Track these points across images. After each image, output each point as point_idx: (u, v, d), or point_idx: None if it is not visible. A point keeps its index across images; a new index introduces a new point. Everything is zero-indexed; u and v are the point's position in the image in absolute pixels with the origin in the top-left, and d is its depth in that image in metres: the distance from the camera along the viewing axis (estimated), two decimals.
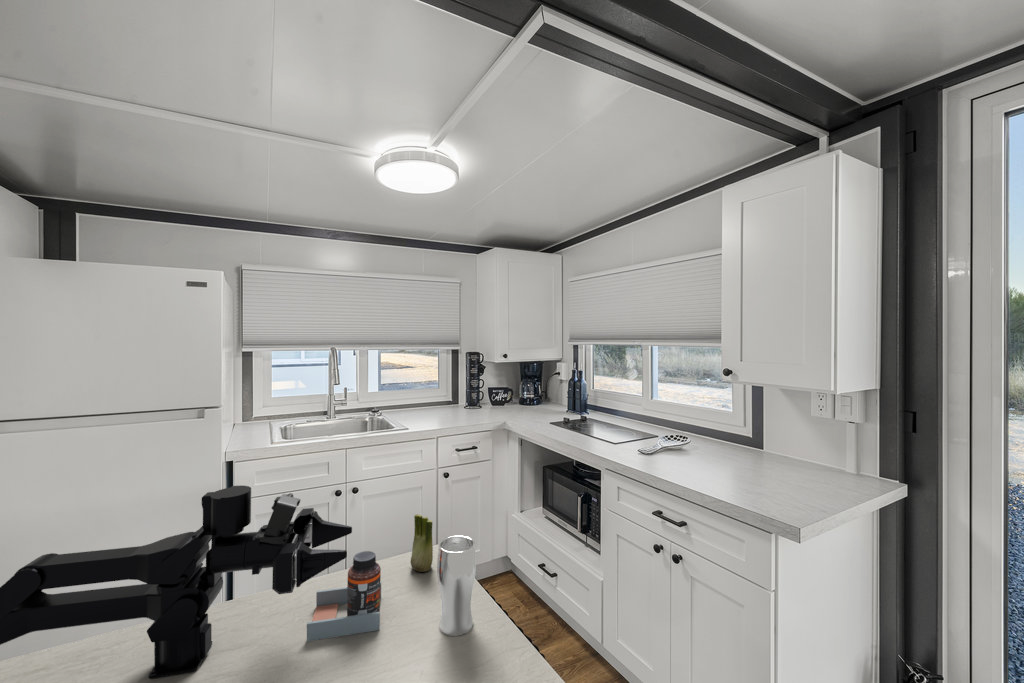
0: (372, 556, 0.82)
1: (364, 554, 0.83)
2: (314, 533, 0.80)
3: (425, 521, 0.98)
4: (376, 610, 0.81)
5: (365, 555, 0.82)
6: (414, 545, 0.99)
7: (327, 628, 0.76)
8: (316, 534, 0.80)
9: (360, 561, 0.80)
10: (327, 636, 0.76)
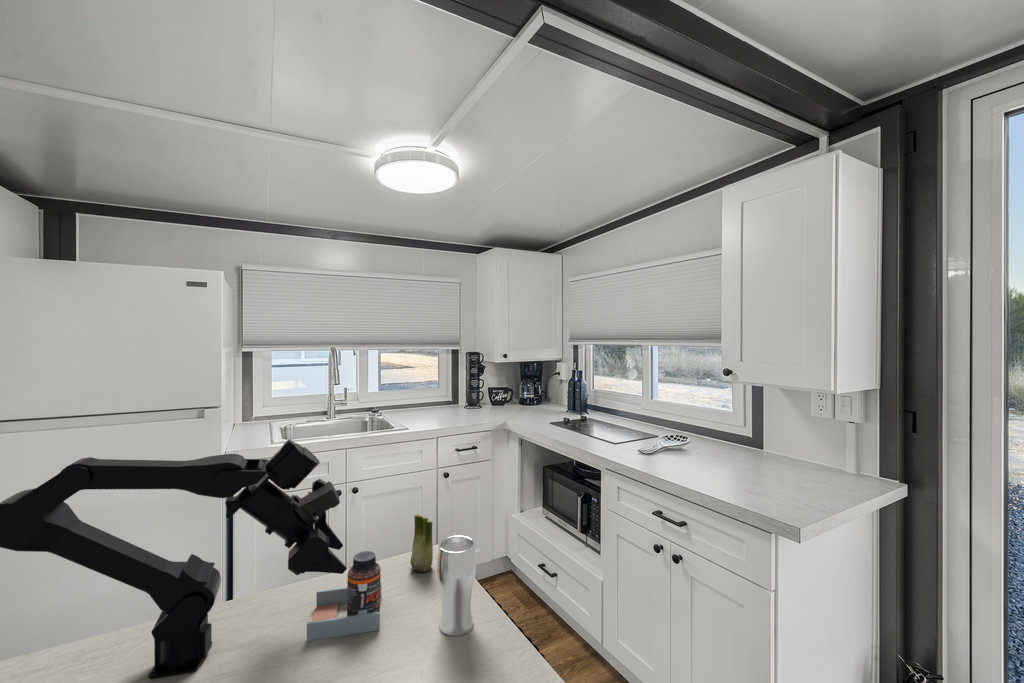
0: (372, 556, 0.82)
1: (364, 554, 0.83)
2: (314, 528, 0.83)
3: (425, 521, 0.98)
4: (376, 610, 0.81)
5: (365, 556, 0.82)
6: (414, 545, 0.99)
7: (327, 628, 0.76)
8: None
9: (360, 561, 0.80)
10: (327, 636, 0.76)
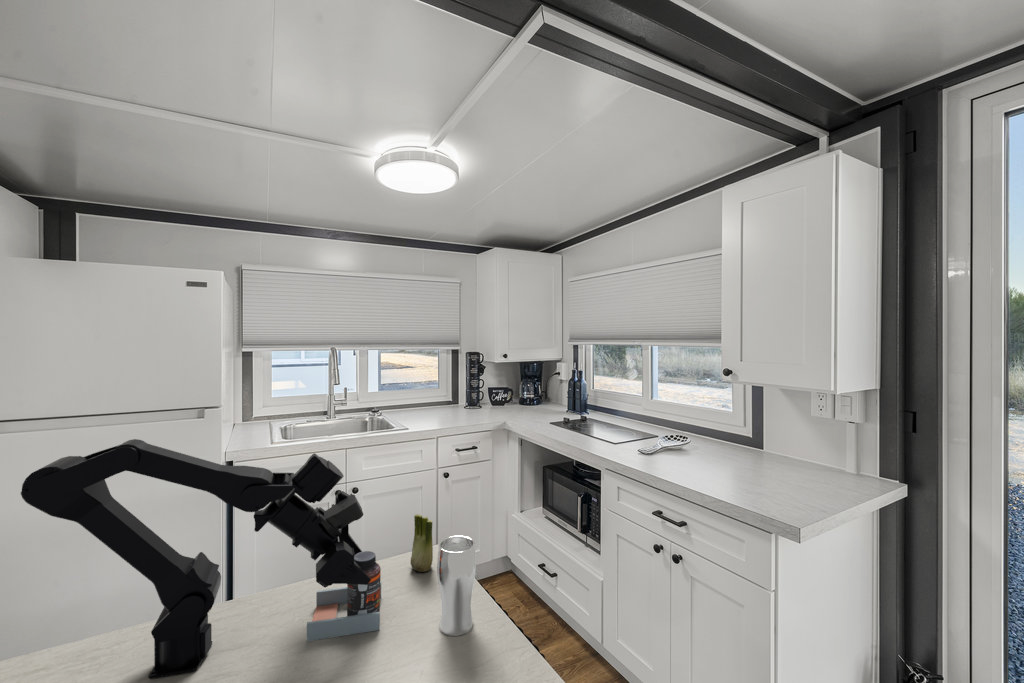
0: (372, 556, 0.82)
1: (364, 554, 0.83)
2: None
3: (425, 521, 0.98)
4: (376, 610, 0.81)
5: (365, 556, 0.82)
6: (414, 545, 0.99)
7: (327, 628, 0.76)
8: None
9: (360, 561, 0.80)
10: (327, 636, 0.76)
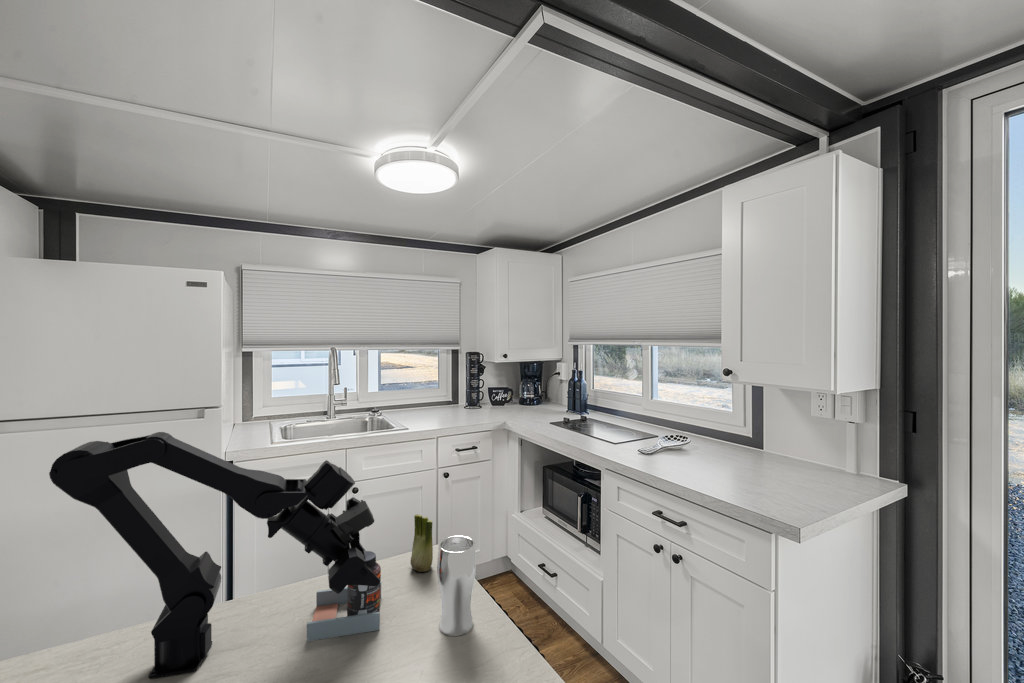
0: (372, 556, 0.82)
1: None
2: None
3: (425, 521, 0.98)
4: (376, 610, 0.81)
5: (365, 555, 0.82)
6: (414, 545, 0.99)
7: (327, 628, 0.76)
8: None
9: None
10: (327, 636, 0.76)
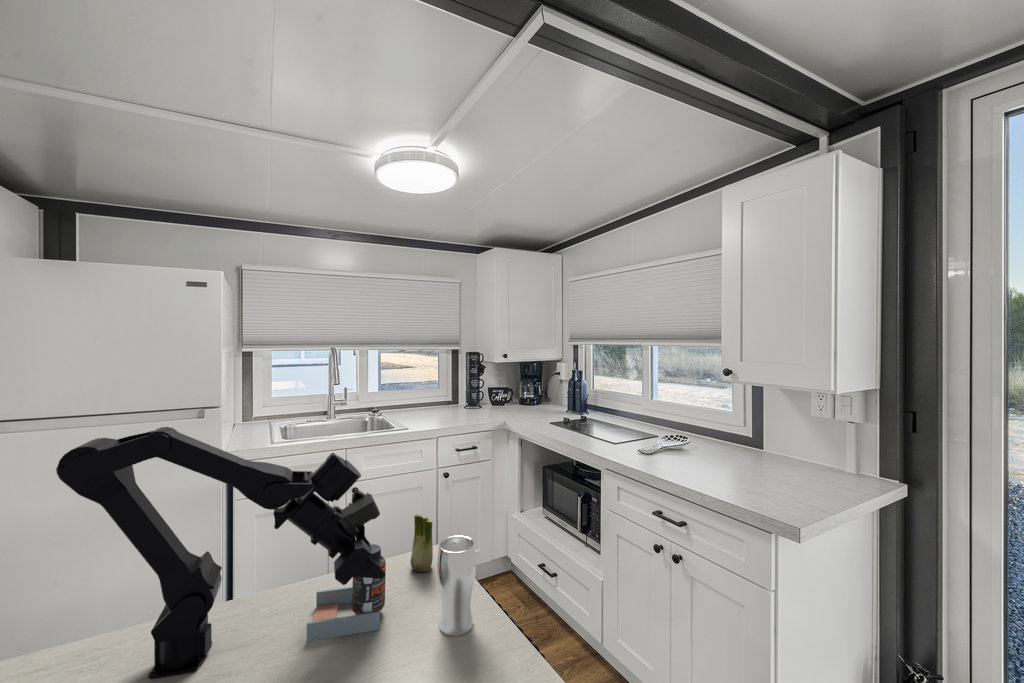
0: (378, 549, 0.82)
1: None
2: None
3: (425, 521, 0.98)
4: (381, 603, 0.81)
5: None
6: (414, 545, 0.99)
7: (327, 628, 0.76)
8: None
9: None
10: (327, 636, 0.76)
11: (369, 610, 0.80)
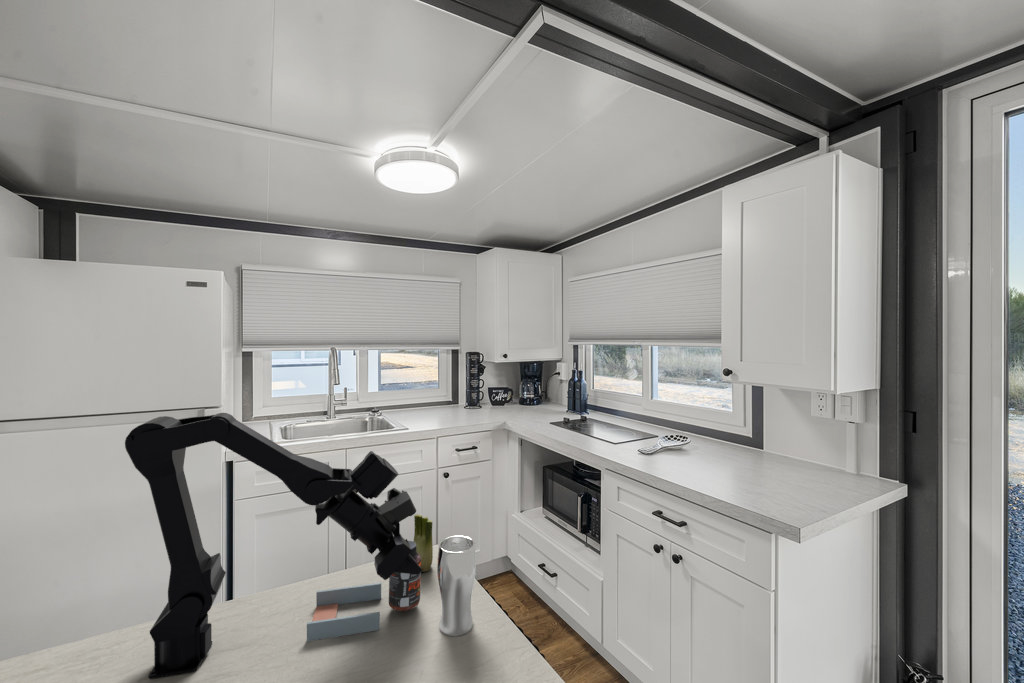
0: (413, 545, 0.84)
1: None
2: None
3: (425, 521, 0.98)
4: (417, 598, 0.83)
5: None
6: None
7: (327, 628, 0.76)
8: None
9: None
10: (327, 636, 0.76)
11: (406, 605, 0.81)
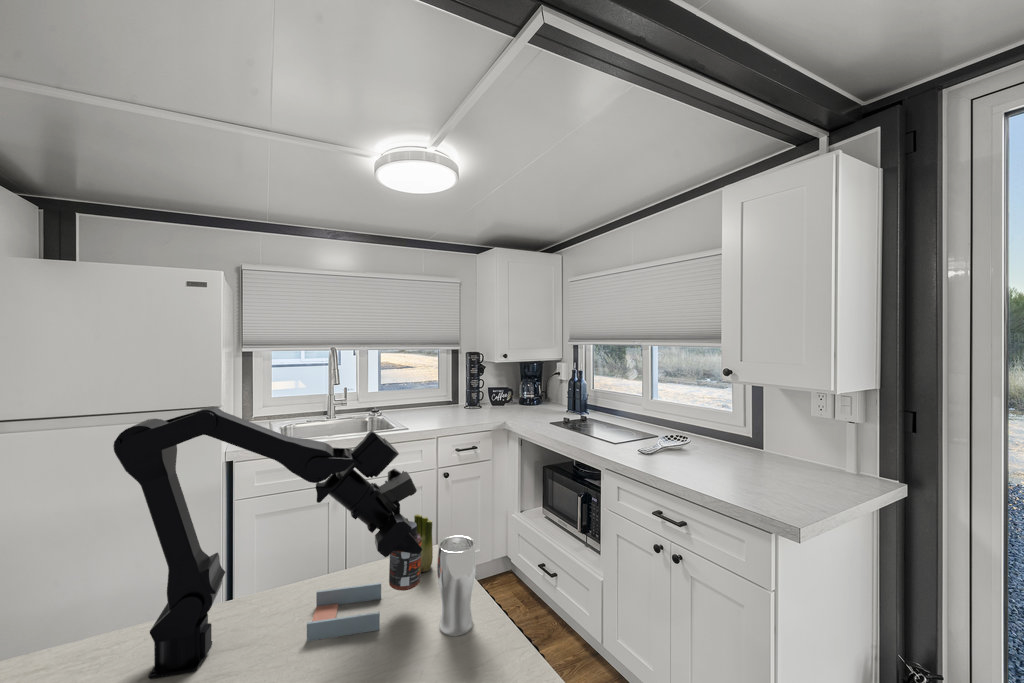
0: (414, 525, 0.84)
1: None
2: None
3: (425, 521, 0.98)
4: (417, 578, 0.83)
5: None
6: None
7: (327, 628, 0.76)
8: None
9: None
10: (327, 636, 0.76)
11: (406, 584, 0.81)
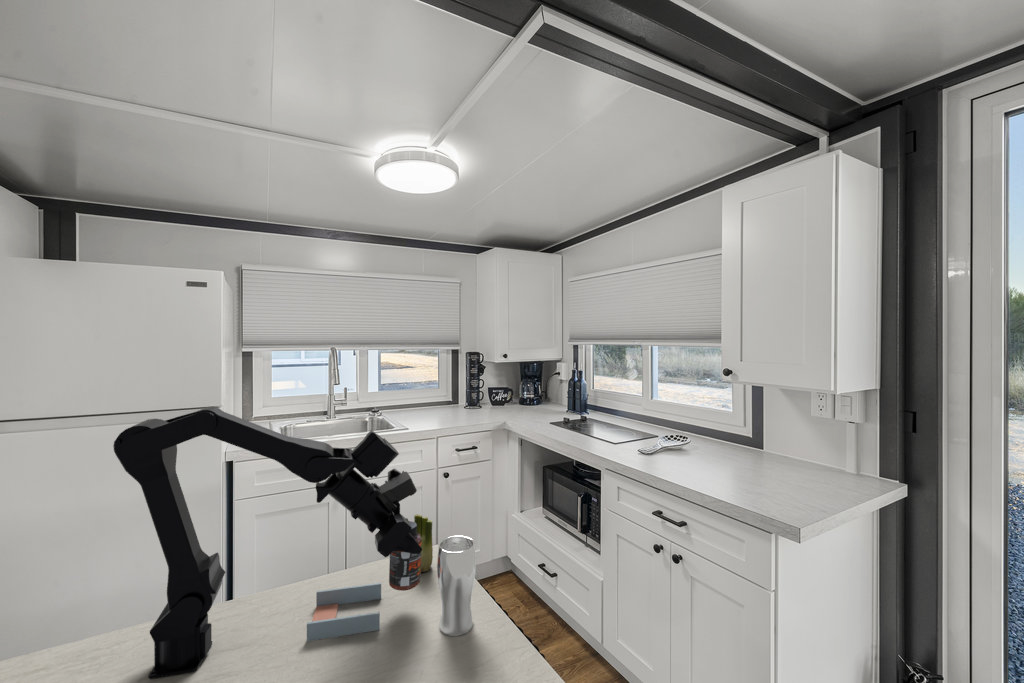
0: (414, 525, 0.84)
1: None
2: None
3: (425, 521, 0.98)
4: (417, 578, 0.83)
5: None
6: None
7: (327, 628, 0.76)
8: None
9: None
10: (327, 636, 0.76)
11: (406, 584, 0.81)
